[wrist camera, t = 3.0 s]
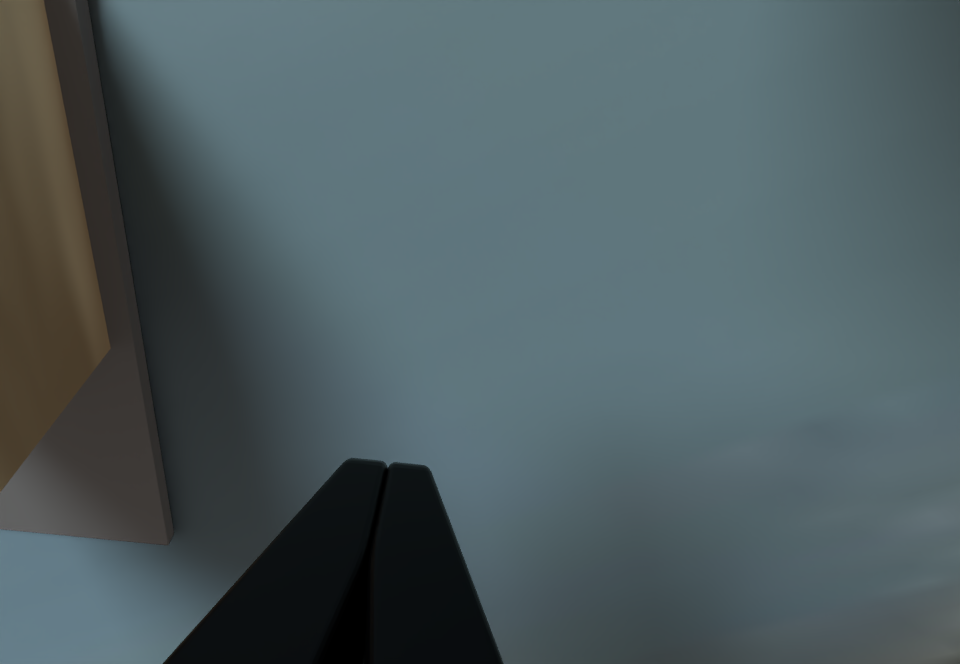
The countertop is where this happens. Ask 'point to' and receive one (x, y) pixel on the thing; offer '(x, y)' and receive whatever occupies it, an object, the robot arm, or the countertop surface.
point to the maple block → (40, 244)
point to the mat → (122, 372)
